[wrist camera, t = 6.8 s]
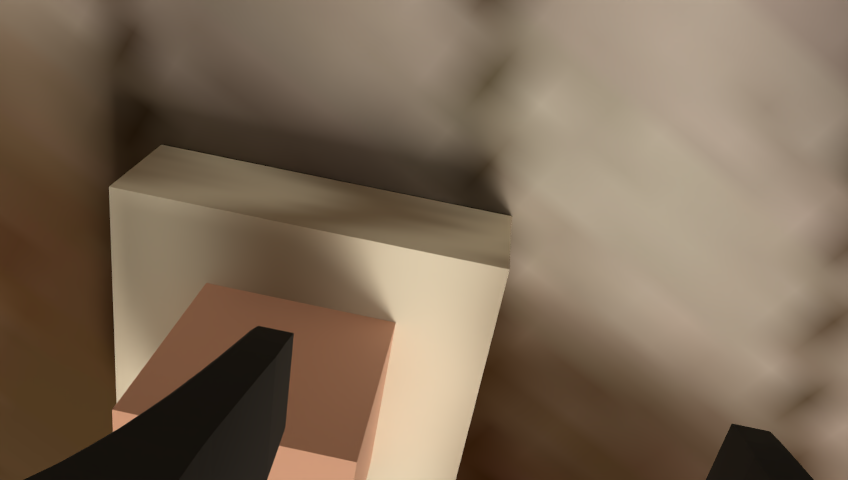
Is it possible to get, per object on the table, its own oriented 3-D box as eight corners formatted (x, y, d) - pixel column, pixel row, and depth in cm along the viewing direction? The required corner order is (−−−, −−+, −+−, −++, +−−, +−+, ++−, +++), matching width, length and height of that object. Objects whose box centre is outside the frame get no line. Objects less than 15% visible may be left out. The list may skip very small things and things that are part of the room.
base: (511, 216, 21) (509, 269, 18) (447, 476, 26) (438, 548, 23) (161, 144, 21) (108, 186, 18) (161, 414, 26) (119, 479, 23)
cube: (395, 322, 19) (357, 462, 15) (370, 464, 22) (330, 621, 17) (206, 282, 19) (112, 409, 15) (201, 428, 22) (118, 574, 17)
